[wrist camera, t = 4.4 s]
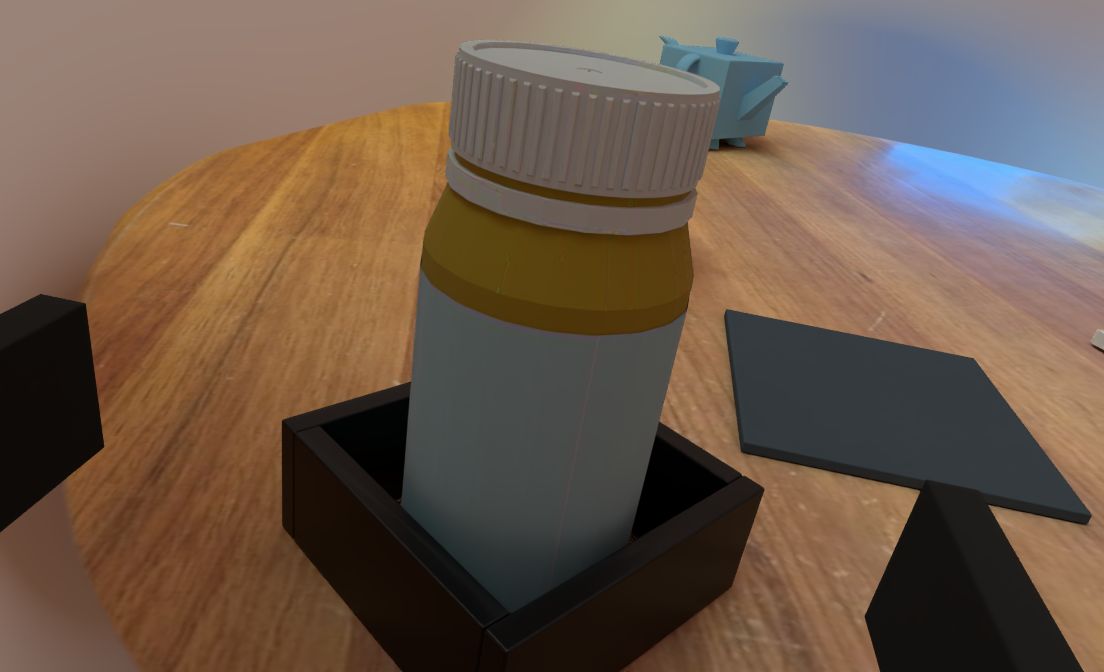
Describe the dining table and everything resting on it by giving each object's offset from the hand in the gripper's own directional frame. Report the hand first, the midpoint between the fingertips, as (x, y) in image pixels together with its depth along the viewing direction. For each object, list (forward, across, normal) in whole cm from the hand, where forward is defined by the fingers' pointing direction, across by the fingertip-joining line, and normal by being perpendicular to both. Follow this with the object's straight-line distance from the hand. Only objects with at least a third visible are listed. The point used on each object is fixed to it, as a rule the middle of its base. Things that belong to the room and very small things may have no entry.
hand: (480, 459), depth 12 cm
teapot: (+85, +8, -10) cm, 86 cm away
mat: (+25, +15, -10) cm, 31 cm away
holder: (+9, 0, -10) cm, 13 cm away
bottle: (+9, 0, -10) cm, 13 cm away
